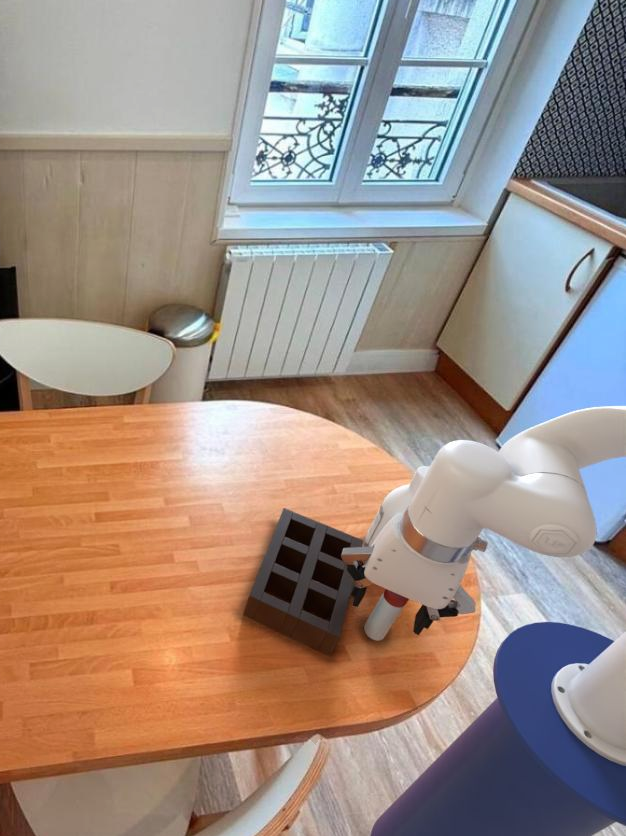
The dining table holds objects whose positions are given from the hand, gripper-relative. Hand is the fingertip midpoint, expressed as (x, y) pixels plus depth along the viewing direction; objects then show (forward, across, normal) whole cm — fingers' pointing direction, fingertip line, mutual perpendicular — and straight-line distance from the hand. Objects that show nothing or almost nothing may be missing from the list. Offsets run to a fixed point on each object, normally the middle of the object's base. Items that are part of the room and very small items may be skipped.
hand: (386, 611), depth 83 cm
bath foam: (+5, +1, -13) cm, 14 cm away
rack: (+5, +11, -2) cm, 12 cm away
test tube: (+5, 0, 0) cm, 5 cm away
